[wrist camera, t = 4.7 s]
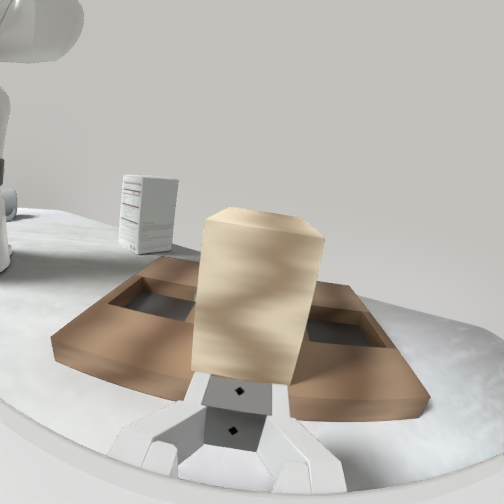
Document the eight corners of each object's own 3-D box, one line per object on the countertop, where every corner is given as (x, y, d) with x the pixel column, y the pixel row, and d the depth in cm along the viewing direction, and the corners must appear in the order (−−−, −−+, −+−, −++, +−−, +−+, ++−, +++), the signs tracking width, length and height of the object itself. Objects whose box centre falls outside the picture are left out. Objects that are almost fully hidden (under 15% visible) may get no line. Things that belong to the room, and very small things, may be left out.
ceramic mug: (-13, 217, 51) (-13, 188, 50) (10, 214, 59) (12, 187, 57) (-6, 224, 47) (-6, 192, 45) (21, 221, 55) (22, 190, 53)
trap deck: (55, 360, 16) (50, 337, 15) (161, 269, 39) (161, 256, 39) (418, 417, 15) (430, 396, 15) (345, 299, 39) (349, 285, 38)
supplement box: (150, 241, 54) (156, 176, 51) (172, 251, 50) (180, 179, 47) (117, 244, 48) (122, 173, 46) (136, 255, 44) (143, 175, 41)
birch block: (191, 370, 16) (204, 219, 14) (217, 306, 26) (230, 206, 24) (289, 385, 16) (325, 238, 14) (282, 317, 26) (301, 217, 24)
